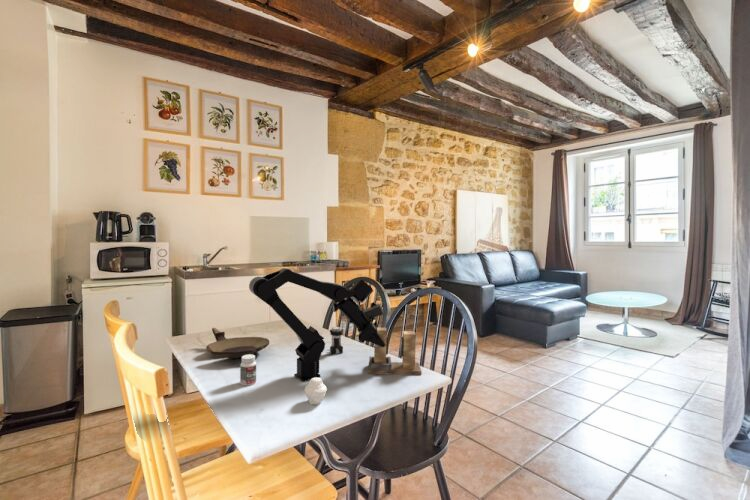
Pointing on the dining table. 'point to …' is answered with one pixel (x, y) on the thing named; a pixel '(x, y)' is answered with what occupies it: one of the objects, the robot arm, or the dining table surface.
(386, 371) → the wooden pillar stand
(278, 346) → the dining table surface
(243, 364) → the pill bottle
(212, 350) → the oil lamp
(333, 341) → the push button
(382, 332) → the oak finger
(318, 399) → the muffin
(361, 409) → the dining table surface
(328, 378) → the dining table surface
